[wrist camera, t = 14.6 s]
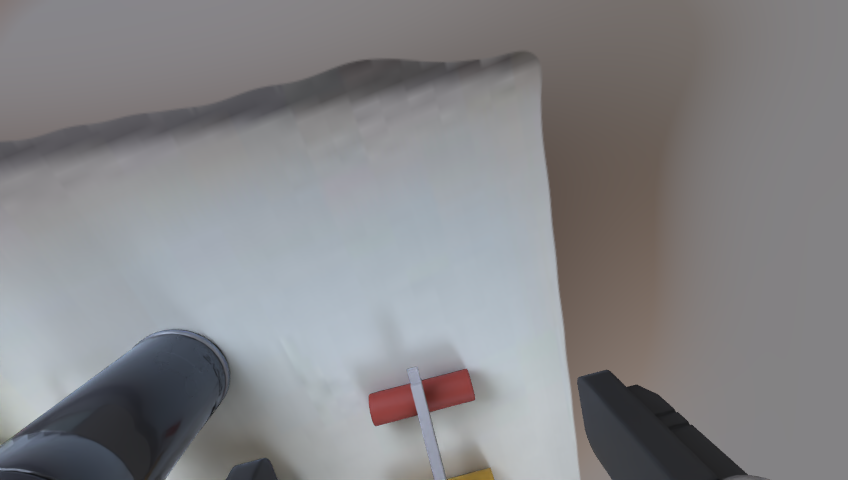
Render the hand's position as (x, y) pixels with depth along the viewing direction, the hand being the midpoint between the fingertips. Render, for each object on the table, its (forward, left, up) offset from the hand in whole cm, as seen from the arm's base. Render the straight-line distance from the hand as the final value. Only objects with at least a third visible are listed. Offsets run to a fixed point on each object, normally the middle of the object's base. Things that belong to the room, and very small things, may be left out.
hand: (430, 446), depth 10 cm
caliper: (-2, -22, -25) cm, 33 cm away
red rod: (-2, -16, -28) cm, 32 cm away
